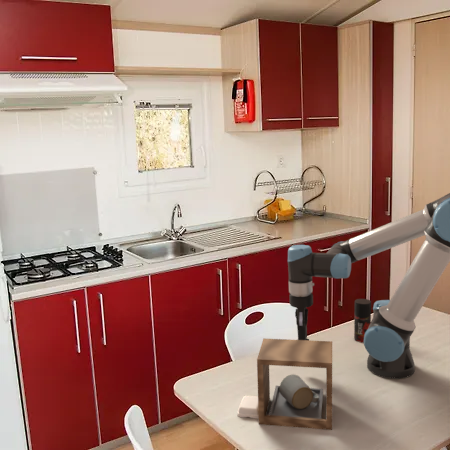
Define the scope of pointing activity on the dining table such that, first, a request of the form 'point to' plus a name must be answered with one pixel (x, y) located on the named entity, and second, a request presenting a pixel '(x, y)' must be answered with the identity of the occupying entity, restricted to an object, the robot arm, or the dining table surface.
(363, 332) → the deodorant
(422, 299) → the robot arm
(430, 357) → the dining table surface
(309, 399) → the ceramic mug
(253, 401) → the soap
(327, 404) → the wooden cube shelf
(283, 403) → the tray
